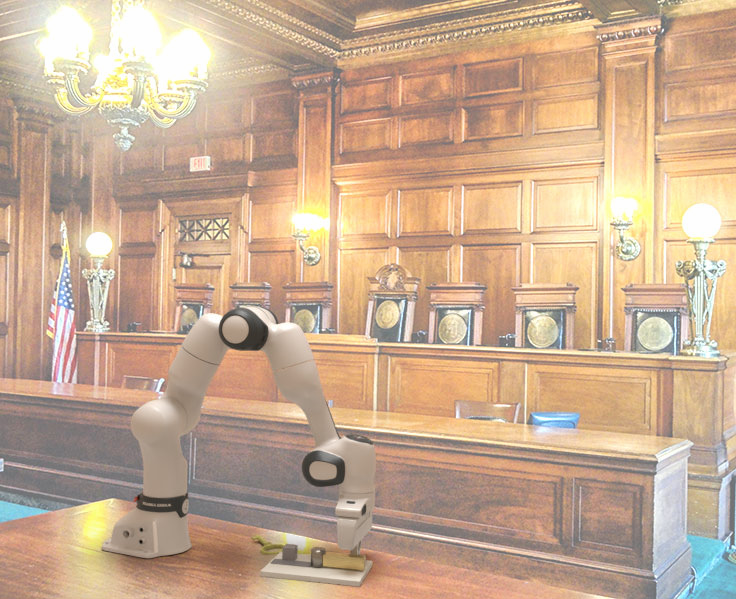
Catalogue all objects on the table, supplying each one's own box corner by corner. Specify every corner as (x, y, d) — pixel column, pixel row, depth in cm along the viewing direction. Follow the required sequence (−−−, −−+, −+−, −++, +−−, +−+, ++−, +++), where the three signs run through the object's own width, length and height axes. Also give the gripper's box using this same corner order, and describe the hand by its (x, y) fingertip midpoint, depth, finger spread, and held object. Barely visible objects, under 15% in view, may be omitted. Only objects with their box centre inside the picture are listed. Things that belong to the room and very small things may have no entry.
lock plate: (260, 576, 188) (260, 557, 188) (279, 556, 202) (280, 539, 202) (359, 586, 183) (360, 567, 183) (372, 565, 198) (372, 548, 198)
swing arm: (308, 566, 191) (309, 551, 191) (312, 561, 195) (313, 546, 195) (362, 571, 189) (363, 556, 188) (365, 566, 192) (366, 551, 192)
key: (257, 541, 216) (258, 533, 216) (290, 551, 208) (290, 543, 208) (237, 547, 210) (238, 539, 210) (270, 558, 202) (271, 550, 202)
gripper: (355, 490, 207) (353, 543, 207) (333, 510, 187) (331, 569, 187) (379, 492, 206) (377, 546, 206) (359, 512, 186) (357, 572, 186)
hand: (355, 557), depth 196 cm, fingers closed
